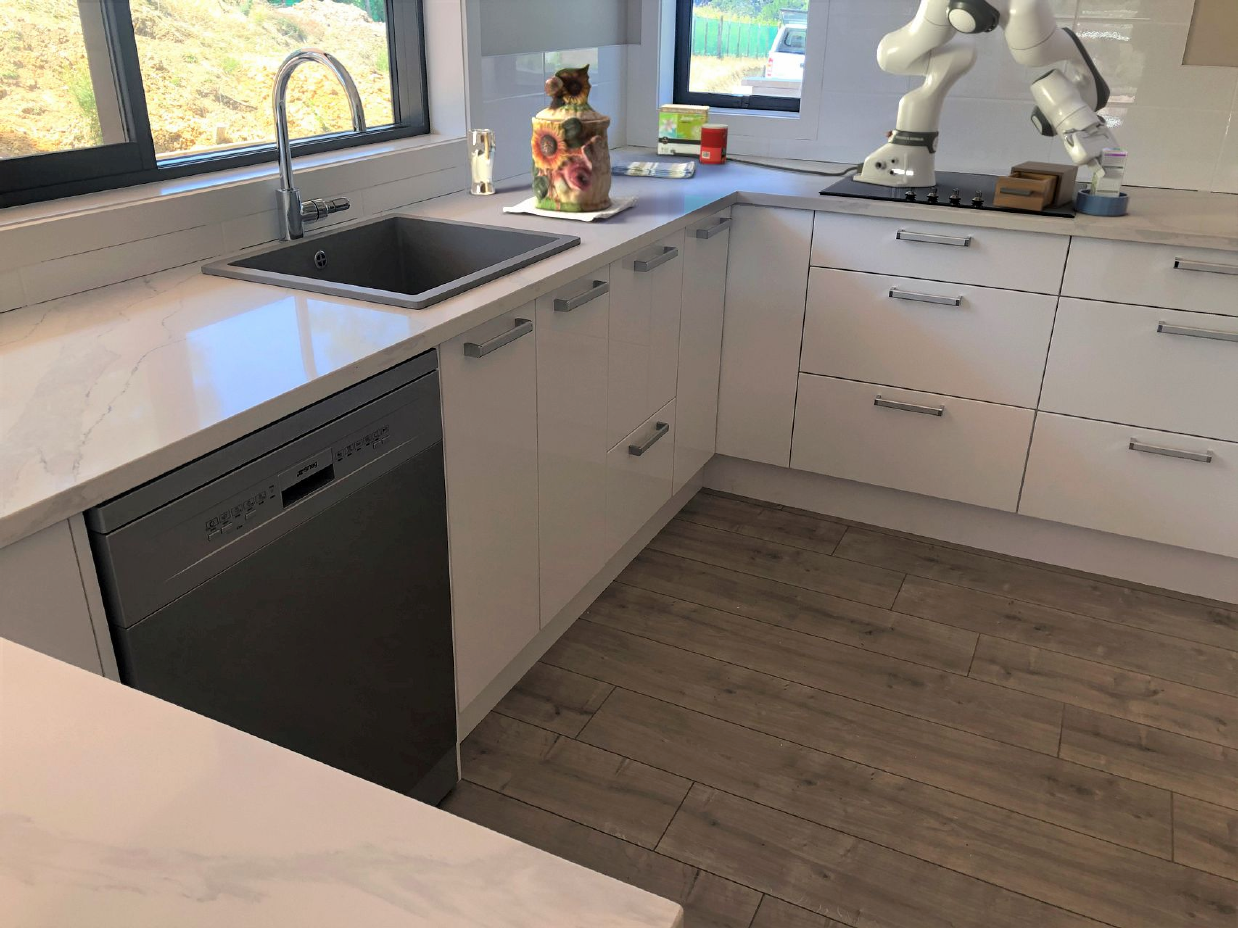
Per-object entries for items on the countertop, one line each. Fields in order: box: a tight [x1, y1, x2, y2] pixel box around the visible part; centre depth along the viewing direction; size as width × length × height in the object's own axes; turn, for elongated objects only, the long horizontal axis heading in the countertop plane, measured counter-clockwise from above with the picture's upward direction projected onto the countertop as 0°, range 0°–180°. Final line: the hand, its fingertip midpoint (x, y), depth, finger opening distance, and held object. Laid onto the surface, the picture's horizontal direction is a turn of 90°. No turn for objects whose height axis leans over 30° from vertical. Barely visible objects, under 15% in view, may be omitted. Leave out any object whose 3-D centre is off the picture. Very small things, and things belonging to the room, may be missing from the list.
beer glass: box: [467, 128, 497, 196], centre depth 251 cm, size 7×7×15 cm
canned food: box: [699, 123, 729, 165], centre depth 307 cm, size 8×8×11 cm
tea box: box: [657, 103, 710, 156], centre depth 322 cm, size 15×10×15 cm, turn 81°
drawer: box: [992, 172, 1058, 212], centre depth 246 cm, size 18×11×7 cm, turn 144°
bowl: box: [1074, 188, 1131, 217], centre depth 246 cm, size 12×12×4 cm
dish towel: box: [611, 160, 696, 179], centre depth 288 cm, size 17×24×3 cm
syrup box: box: [1089, 148, 1129, 197], centre depth 244 cm, size 6×6×14 cm
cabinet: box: [1009, 160, 1080, 209], centre depth 257 cm, size 15×13×9 cm
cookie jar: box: [503, 63, 638, 222], centre depth 229 cm, size 25×25×32 cm
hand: (1111, 174), depth 243 cm, fingers closed on syrup box, 7 cm apart
